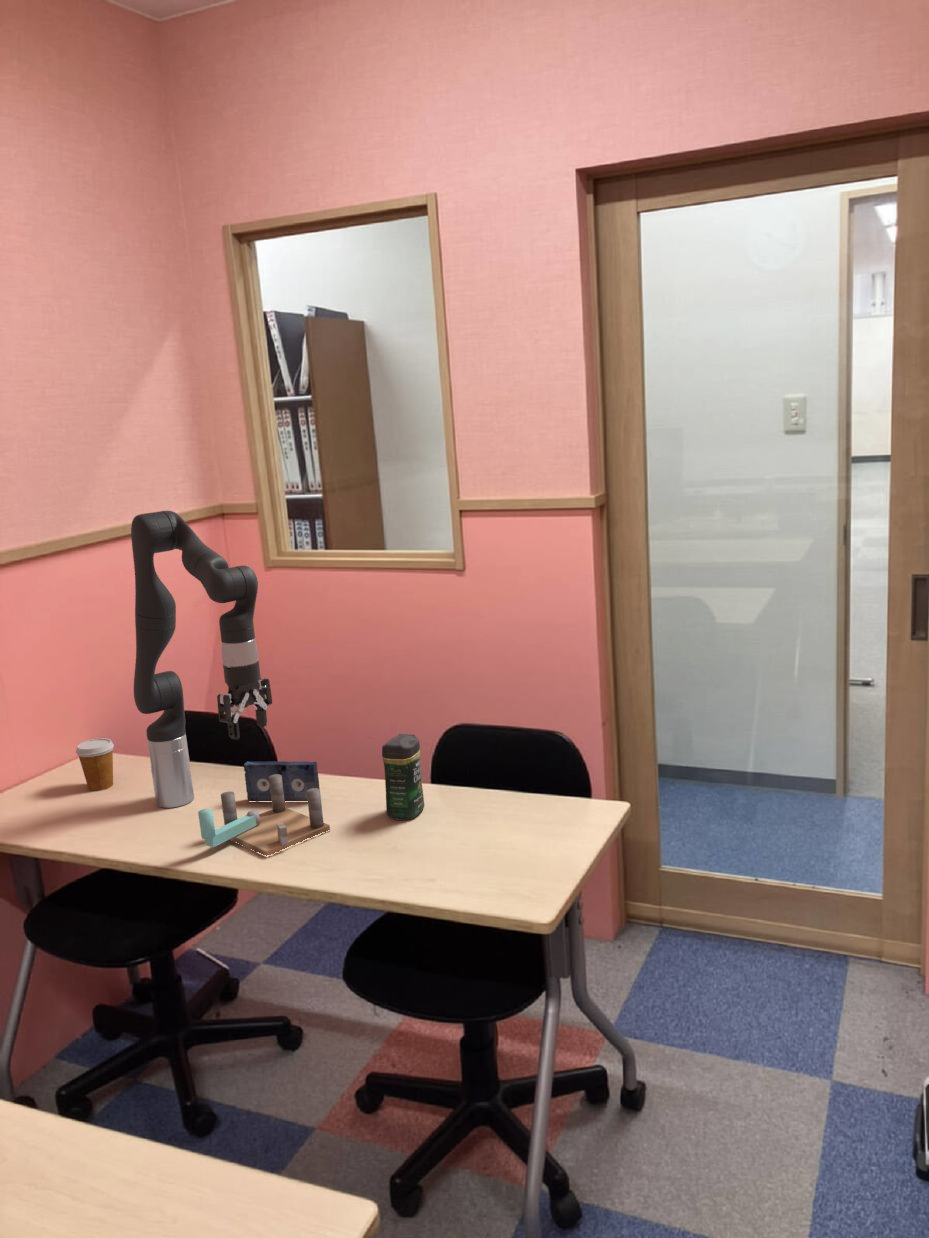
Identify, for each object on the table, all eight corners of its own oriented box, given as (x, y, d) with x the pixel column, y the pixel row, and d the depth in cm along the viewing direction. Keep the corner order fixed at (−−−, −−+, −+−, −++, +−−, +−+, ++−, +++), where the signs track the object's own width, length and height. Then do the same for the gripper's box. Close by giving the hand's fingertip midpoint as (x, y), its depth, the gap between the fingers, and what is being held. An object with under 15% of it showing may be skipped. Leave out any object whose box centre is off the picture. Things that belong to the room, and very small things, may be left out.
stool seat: (220, 835, 230) (215, 794, 228) (281, 811, 242) (277, 772, 240) (269, 858, 216) (264, 815, 214) (332, 831, 228) (327, 790, 226)
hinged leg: (254, 820, 233) (250, 787, 231) (263, 822, 231) (259, 789, 230) (199, 847, 220) (195, 812, 218) (209, 850, 218) (204, 815, 217)
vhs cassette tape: (321, 799, 248) (317, 760, 246) (317, 803, 245) (313, 765, 243) (252, 797, 252) (247, 760, 250) (247, 802, 249) (242, 764, 247)
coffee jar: (414, 822, 230) (407, 745, 226) (382, 819, 233) (375, 743, 229) (429, 805, 239) (423, 731, 235) (399, 803, 242) (392, 730, 238)
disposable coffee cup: (93, 780, 273) (86, 738, 270) (125, 779, 271) (119, 737, 269) (75, 793, 264) (68, 750, 261) (109, 793, 262) (102, 749, 260)
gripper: (249, 650, 221) (257, 720, 225) (203, 667, 210) (212, 741, 213) (276, 653, 218) (283, 724, 221) (230, 670, 206) (239, 745, 209)
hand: (248, 732), depth 217 cm, fingers open, 8 cm apart
